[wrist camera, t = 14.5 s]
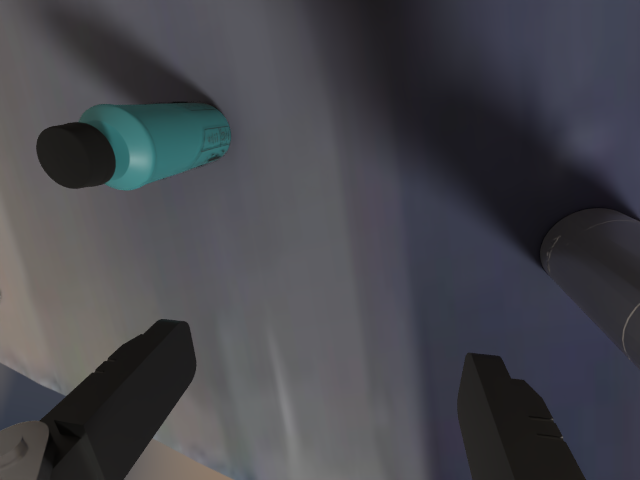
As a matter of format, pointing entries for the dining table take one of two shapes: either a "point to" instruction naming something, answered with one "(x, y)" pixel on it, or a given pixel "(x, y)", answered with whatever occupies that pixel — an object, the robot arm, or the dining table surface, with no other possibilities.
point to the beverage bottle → (132, 144)
